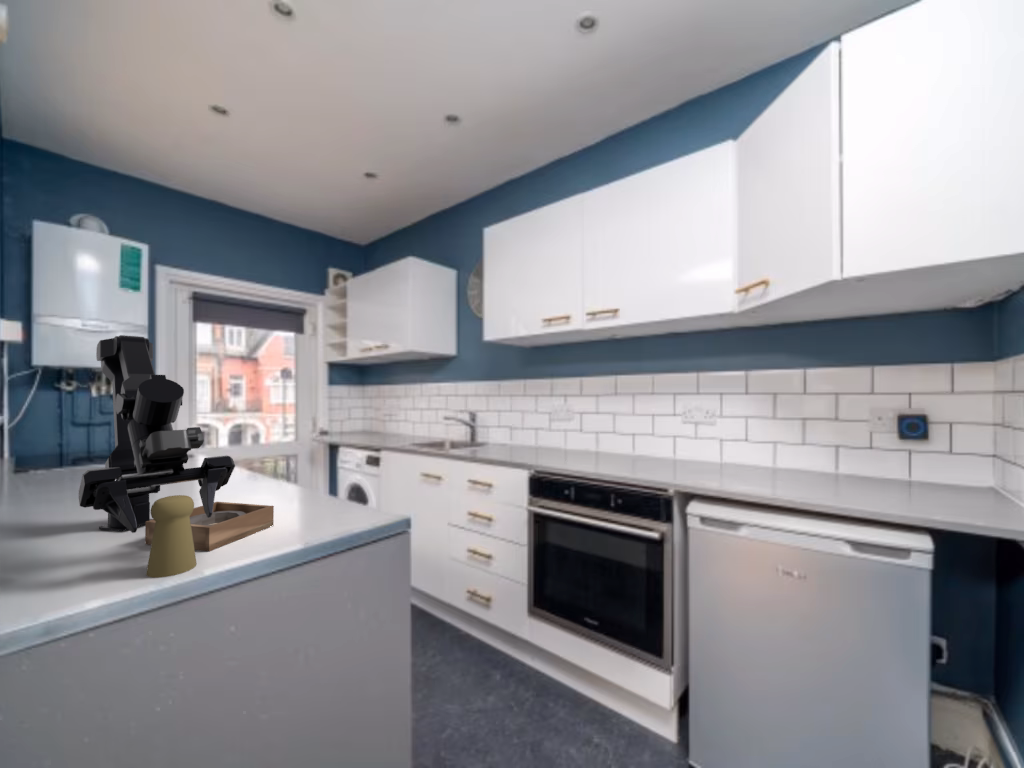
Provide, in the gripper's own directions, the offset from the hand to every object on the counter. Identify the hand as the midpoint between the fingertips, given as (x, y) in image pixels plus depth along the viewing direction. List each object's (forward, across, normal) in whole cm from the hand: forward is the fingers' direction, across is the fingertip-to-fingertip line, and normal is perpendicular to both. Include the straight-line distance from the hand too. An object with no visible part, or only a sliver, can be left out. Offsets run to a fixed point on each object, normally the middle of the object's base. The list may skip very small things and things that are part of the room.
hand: (174, 523), depth 65 cm
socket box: (-5, +10, +15) cm, 18 cm away
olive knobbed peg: (+4, 0, +6) cm, 7 cm away
